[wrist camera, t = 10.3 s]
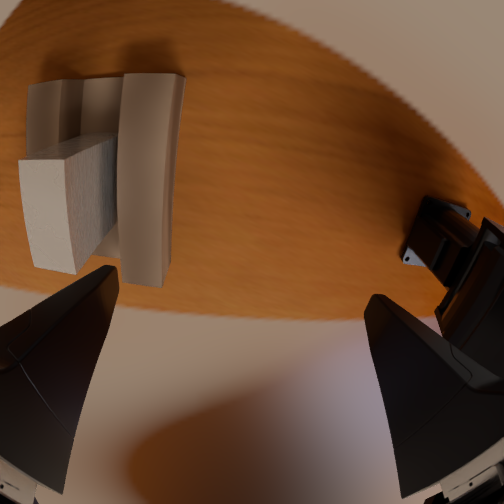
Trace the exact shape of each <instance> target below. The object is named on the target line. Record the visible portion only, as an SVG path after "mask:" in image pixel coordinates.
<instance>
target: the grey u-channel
mask: <svg viewBox="0 0 504 504" xmlns="http://www.w3.org/2000/svg"><path fill="white" fill-rule="evenodd" d="M185 84H186V78H185V77H182V76H180V75H177V74H169V73H129V74H124V77H111V78H96V79H85V80H81V79H61V80H54V81H48V82H43V83H38V84H32V85H29V86H28V98H27V117H26V150H27V156H29V155H31V154H33V153H36V152H38V151H41V150H43V149H45V148H48V147H50V146H53V145H56V144H58V143H61V142H64V141H66V140H69V139H72V138H75V137H78V136H80V135H83V134H86V133H118V154H117V213H118V221H117V223H116V224H115V225H114V226H113V227H112V229H111V230H110V231H109V232H108V234H107V235H106V236H105V237H104V239H103V240H102V241H101V242H100V244H99V245H98V246H97V248H96V249H95V250H94V251H93V253H92V254H91V255H98V256H105V257H112V258H120V261H121V272H122V281H123V283H130V284H137V285H144V286H151V287H158V288H162V286H163V283H164V280H165V277H166V274H167V271H168V268H169V265H170V263H171V236H172V213H173V196H174V182H175V169H176V158H177V147H178V138H179V129H180V120H181V112H182V105H183V98H184V91H185ZM43 269H44V268H43ZM48 270H49V269H48ZM53 271H54V270H53ZM58 272H59V271H58ZM69 274H70V273H69Z"/></svg>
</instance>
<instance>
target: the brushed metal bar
mask: <svg viewBox="0 0 504 504" xmlns="http://www.w3.org/2000/svg"><path fill="white" fill-rule="evenodd" d="M117 154H118V133H86V134H83V135H80V136H78V137H75V138H72V139H69V140H66V141H64V142H61V143H58V144H56V145H53V146H50V147H48V148H45V149H43V150H41V151H38V152H36V153H33V154H31V155H29V156H27V157H24V158H22V159H20V160H18V161H19V176H20V187H21V196H22V204H23V211H24V218H25V224H26V230H27V235H28V240H29V245H30V250H31V254H32V258H33V263H34V267H39V268H44V269H49V270H54V271H59V272H64V273H70V274H75V275H77V273H78V272H79V270H80V269H81V268H82V266H83V265H84V263H85V262H86V261H87V259H88V258H89V257H90V255H91V254H92V253H93V251H94V250H95V249H96V248H97V246H98V245H99V244H100V242H101V241H102V240H103V239H104V237H105V236H106V235H107V234H108V232H109V231H110V230H111V229H112V227H113V226H114V225H115V224H116V223H117V221H118V213H117Z"/></svg>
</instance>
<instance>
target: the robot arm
mask: <svg viewBox="0 0 504 504" xmlns="http://www.w3.org/2000/svg"><path fill="white" fill-rule="evenodd" d="M428 200H429V203H427V202H428ZM470 217H471V211H470V210H468V209H467V208H464V207H461V206H458V205H456V204H453V203H450V202H447V201H444V200H441V199H438V198H435V197H432V196H428V195H427V196H425V197H424V199H423V201H422V204H421V207H420V210H419V212H418V215H417V218H416V221H415V223H414V226H413V228H412V231H411V234H410V236H409V239H408V241H407V244H406V246H405V248H404V251H403V253H402V256H401V260H402V262H403V263H405V264H411V265H418V266H426V267H427V268H428V269H429V270H430V271H431V272H432V273H433V274H434V275H435V277H436V278H437V279H438V280H439V281H440V283H441V284H442V285H443V286H444V287H445V289H446V290H447V291H448V292H447V293H446V295H445V297H444V298H443V300H442V302H441V303H440V305H439V306H437V308H436V309H435V311H434V312H435V315H436V318H437V321H438V324H439V327H440V330H441V333H442V336H443V337H441V336H440V335H439V334H437V333H436V332H435V331H433V330H432V329H431V328H429V327H428V326H427V325H425V324H424V323H422V322H421V321H420V320H418V319H417V318H416V317H414V316H413V315H412V314H410V313H409V312H407V311H406V310H405V309H403V308H402V307H401V306H399V305H398V304H396V303H395V302H394V301H392V300H391V299H389V298H388V297H386V296H385V295H383V294H373V295H372V297H371V298H370V301H369V303H368V305H367V307H366V309H365V311H364V320H365V325H366V330H367V336H368V341H369V347H370V352H371V355H372V359H373V363H374V366H375V370H376V374H377V378H378V381H379V386H380V389H381V394H382V397H383V402H384V406H385V410H386V415H387V419H388V424H389V429H390V433H391V438H392V443H393V448H394V455H395V460H396V466H397V472H398V479H399V485H400V491H401V497H402V499H403V498H406V497H409V496H411V495H414V494H416V493H419V492H421V491H424V490H426V489H428V488H430V487H433V486H435V485H437V484H439V483H440V485H441V488H442V492H440V493H438V494H436V495H434V496H432V497H429V498H427V499H426V500H425V502H424V504H504V227H503V226H501V225H499V224H497V223H496V222H494V221H492V220H490V219H488V218H486V217H484V218H483V220H482V225H481V228H480V229H479V228H478V227H476V226H475V225H474V224H473V223H471V222H470V221H469V219H470ZM406 257H407V258H406ZM405 258H406V259H405ZM118 293H119V281H118V272H117V268H116V267H115V266H110V265H104V266H102V267H100V268H98V269H96V270H95V271H93V272H91V273H89V274H88V275H86V276H84V277H82V278H81V279H79V280H77V281H75V282H74V283H72V284H70V285H69V286H67V287H65V288H64V289H62V290H60V291H58V292H57V293H55V294H53V295H52V296H50V297H48V298H47V299H45V300H44V301H42V302H40V303H39V304H37V305H35V306H34V307H32V308H31V309H29V310H27V311H26V312H24V313H23V314H21V315H19V316H18V317H16V318H15V319H13V320H12V321H10V322H8V323H6V324H4V325H2V326H1V327H0V504H38V502H37V500H36V498H35V497H34V496H35V491H36V487H37V484H39V485H41V486H43V487H45V488H48V489H50V490H52V491H54V492H57V493H59V494H61V495H62V494H63V490H64V484H65V479H66V474H67V468H68V464H69V459H70V454H71V450H72V446H73V441H74V439H73V438H74V437H75V432H76V429H77V425H78V421H79V418H80V414H81V411H82V407H83V404H84V400H85V397H86V394H87V391H88V387H89V384H90V381H91V378H92V375H93V372H94V369H95V366H96V363H97V360H98V357H99V355H100V352H101V349H102V346H103V343H104V341H105V338H106V336H107V333H108V329H109V326H110V323H111V319H112V315H113V311H114V308H115V304H116V300H117V297H118Z"/></svg>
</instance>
